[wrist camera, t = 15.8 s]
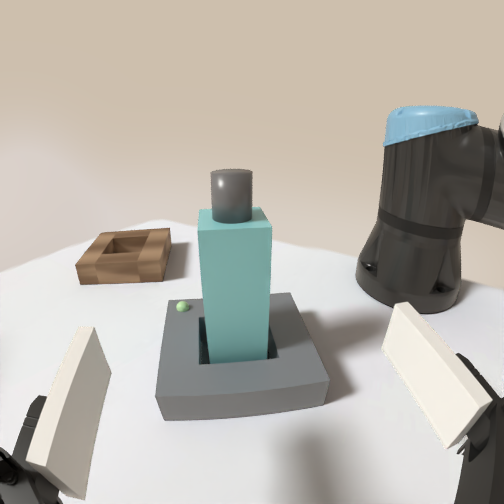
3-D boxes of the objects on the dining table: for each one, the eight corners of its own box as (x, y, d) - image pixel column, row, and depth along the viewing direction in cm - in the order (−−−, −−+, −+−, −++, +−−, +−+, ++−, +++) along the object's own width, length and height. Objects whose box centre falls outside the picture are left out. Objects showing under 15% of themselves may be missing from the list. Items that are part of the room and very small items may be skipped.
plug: (210, 347, 27) (197, 168, 20) (257, 344, 27) (260, 166, 21) (212, 382, 23) (194, 179, 16) (266, 378, 23) (273, 177, 17)
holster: (104, 249, 47) (101, 232, 46) (171, 245, 49) (169, 227, 47) (80, 284, 36) (75, 264, 35) (162, 281, 38) (159, 260, 37)
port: (172, 324, 30) (167, 294, 28) (288, 316, 31) (290, 286, 30) (164, 420, 19) (153, 389, 17) (323, 405, 20) (331, 373, 19)
